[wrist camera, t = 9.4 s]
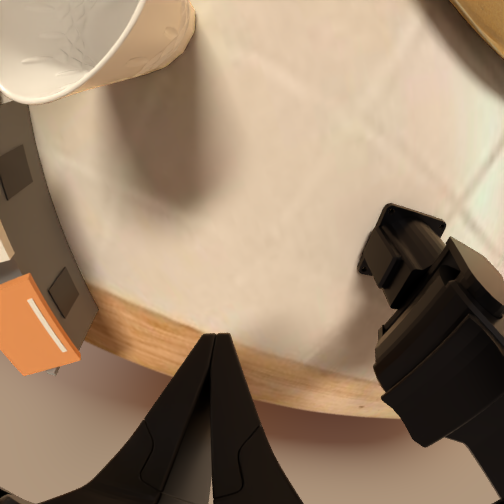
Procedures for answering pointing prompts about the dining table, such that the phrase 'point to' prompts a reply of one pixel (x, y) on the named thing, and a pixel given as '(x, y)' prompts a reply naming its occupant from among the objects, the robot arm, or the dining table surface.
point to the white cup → (86, 44)
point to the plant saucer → (485, 20)
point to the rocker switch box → (38, 228)
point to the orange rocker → (31, 329)
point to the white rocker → (5, 246)
